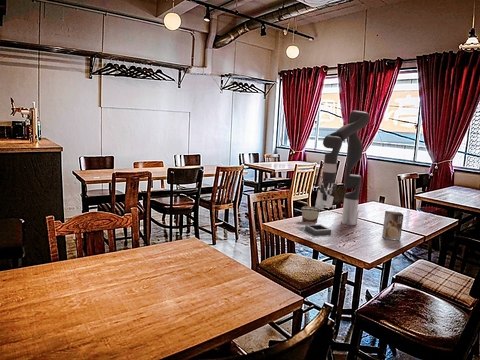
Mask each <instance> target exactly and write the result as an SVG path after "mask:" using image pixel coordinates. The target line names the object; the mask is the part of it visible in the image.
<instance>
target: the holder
mask: <svg viewBox="0 0 480 360" xmlns="http://www.w3.org/2000/svg"><path fill="white" fill-rule="evenodd" d="M295 229H297V230H299V231H301V232H302V233H304V234H305V235H307V236H309V237H311V238H312V239H317V238H318V239H319V238H328V237H329V238H331V237H342V235H341V234H339V233H337V232H336V231H335V230H334V231H333V230H332V229H331V228H329V227H327V226H325V225H323V224H319V223H318V224H306V225H304V226H296V227H295Z"/></svg>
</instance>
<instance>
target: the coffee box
mask: <svg viewBox="0 0 480 360" xmlns="http://www.w3.org/2000/svg"><path fill="white" fill-rule="evenodd" d="M403 222H404V214H403V212H399V211H392V210H385V211H384V218H383V226H382V237H384V238H385V239H384V238H383V239H384V240H388V239H396V240H395V241H398V240H400V241H401V238H402V230H403Z"/></svg>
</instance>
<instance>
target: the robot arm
mask: <svg viewBox="0 0 480 360" xmlns="http://www.w3.org/2000/svg"><path fill="white" fill-rule="evenodd" d="M370 117H371V116H370V114H369V113H368V112H366V111H362V110H361V111H360V110H352V111H351V112H350V113H349V117H348V124H345V125H343V126H341V127H340V128H339V129H337V130H336V131H334V132H332V133H329V134H327V135H326V136H325V137H324V138H323V140H322V145H323V147H324V148H326V149H332V150H331V151H330V152H326V153H325V154H324V161H323V166H322V176H321V178H322V181H321V183H319V184H318V188H319V189H318V190H320V192H321V193H323V200H324V201H326V200H327V194H329V195H331V196H332V194H334V192H335V191H336V189H337V186H338V183H335V180H336V175H337V169H338V168H337V162H338V156H339V153H340V150H341V148H342V146H343V142H344V141H345V140H347V139H348V141H347V150H346V151H347V152H346V164H345V165H346V166H345V172H344V179H343V187H344V188H346V189H353V191H351V192H346V193H344V198H343V206H342V214H341V215H342V216H341V223H342V224H343V225H347V226H355V225H358V218H359V210H358V208H359V200H360V190H361V187H362V181H363V180H362V176H361V175H360V174H354V173H353V174H352V170H353V168H354V167H355V166H356V165H357V164H358V162H360V160H361V159H362V157H363V149H364V148H363V147H364V146H363V143H362V141H361V139H360V137H359V135H358V131H360V130H362V129H364V128H365V127H367V125H368V124H369V123H370V119H371V118H370Z"/></svg>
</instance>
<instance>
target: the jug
mask: <svg viewBox="0 0 480 360" xmlns="http://www.w3.org/2000/svg"><path fill="white" fill-rule="evenodd" d="M316 195H317V196H316V200H315V205H314V207H316V208H319V209H320V210H323V209H324V208H325V207H327V208H332V207H333V206H332V205H333V201H334V199H335V198H334V196H333V195H332V194H331V195H329V194H327V200H326V201H324V200H323V193H321V192H320V189H318V190H317V194H316Z"/></svg>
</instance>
